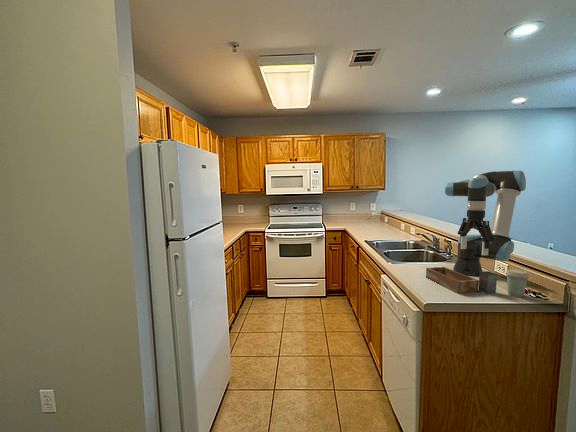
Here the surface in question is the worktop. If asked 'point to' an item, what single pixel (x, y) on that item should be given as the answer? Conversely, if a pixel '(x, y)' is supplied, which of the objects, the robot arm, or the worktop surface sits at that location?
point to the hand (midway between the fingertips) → (473, 251)
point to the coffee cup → (516, 282)
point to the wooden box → (452, 280)
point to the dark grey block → (487, 282)
